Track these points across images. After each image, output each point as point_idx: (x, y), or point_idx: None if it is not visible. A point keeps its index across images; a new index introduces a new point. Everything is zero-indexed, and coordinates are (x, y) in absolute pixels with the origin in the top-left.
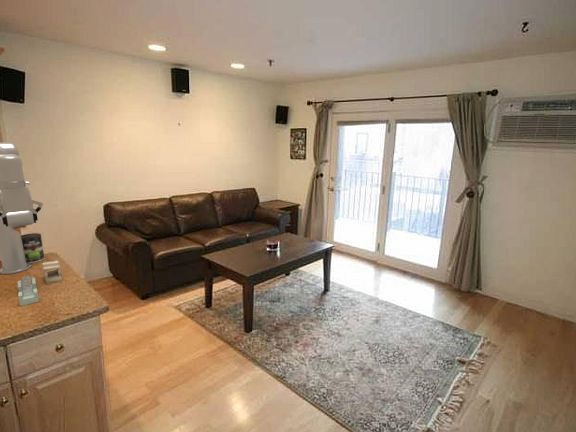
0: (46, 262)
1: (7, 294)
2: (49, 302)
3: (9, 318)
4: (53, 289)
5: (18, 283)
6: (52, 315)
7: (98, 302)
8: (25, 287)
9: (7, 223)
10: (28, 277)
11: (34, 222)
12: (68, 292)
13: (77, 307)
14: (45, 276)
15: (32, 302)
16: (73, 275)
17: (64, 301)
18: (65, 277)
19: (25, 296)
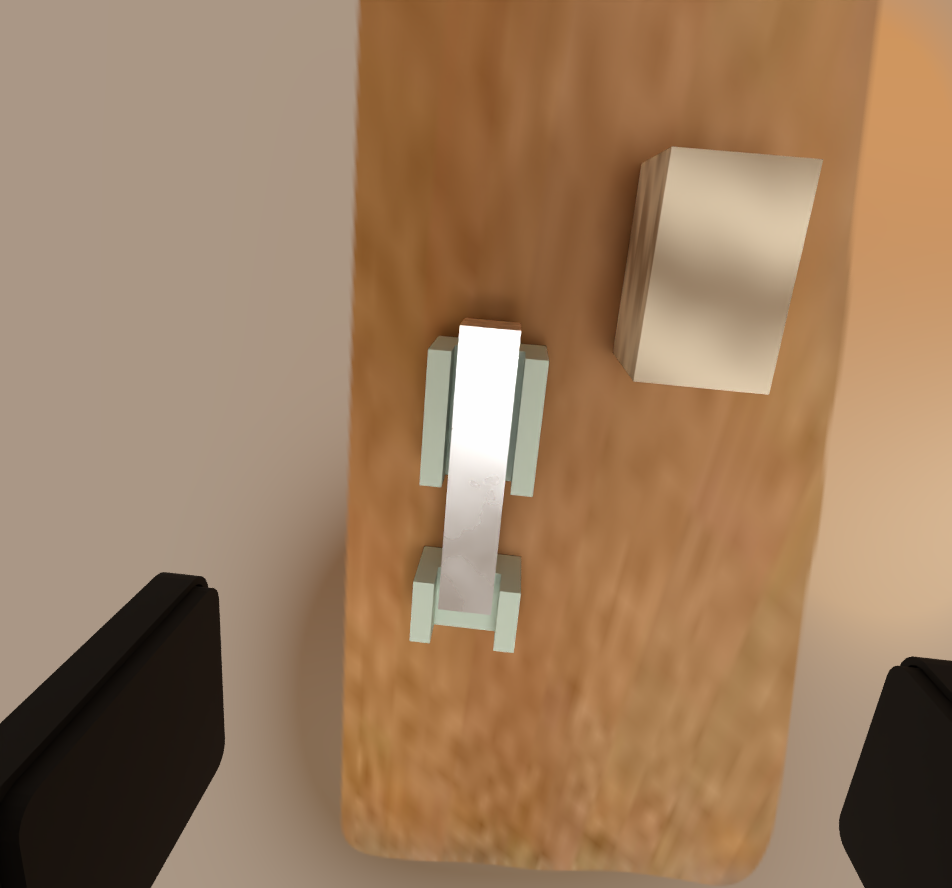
0: (708, 167)
1: (367, 356)
2: (557, 661)
3: (364, 704)
4: (625, 486)
5: (430, 409)
6: (535, 808)
7: (758, 832)
8: (457, 576)
9: (183, 828)
10: (503, 379)
11: (847, 843)
12: (684, 602)
13: (655, 812)
14: (624, 366)
15: None
16: (829, 303)
17: (626, 704)
18: None
19: None
